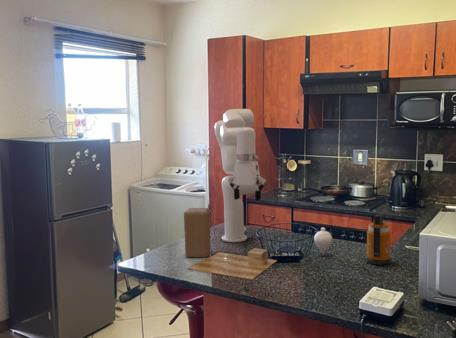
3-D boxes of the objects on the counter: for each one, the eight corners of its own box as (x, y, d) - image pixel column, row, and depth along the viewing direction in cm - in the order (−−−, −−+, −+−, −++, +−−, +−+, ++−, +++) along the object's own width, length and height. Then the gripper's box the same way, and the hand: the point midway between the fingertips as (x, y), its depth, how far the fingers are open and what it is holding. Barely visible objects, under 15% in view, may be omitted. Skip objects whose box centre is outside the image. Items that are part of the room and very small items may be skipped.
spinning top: (312, 257, 190) (312, 229, 189) (316, 251, 197) (316, 225, 196) (330, 258, 188) (330, 230, 186) (333, 253, 195) (333, 226, 193)
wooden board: (219, 252, 200) (219, 252, 200) (277, 260, 186) (277, 260, 186) (188, 269, 179) (188, 268, 178) (251, 279, 165) (251, 279, 165)
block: (211, 251, 202) (210, 207, 200) (207, 258, 192) (206, 212, 190) (189, 250, 203) (188, 207, 201) (184, 257, 193) (183, 212, 191)
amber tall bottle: (390, 260, 184) (391, 212, 182) (387, 268, 174) (388, 218, 172) (368, 257, 188) (369, 211, 185) (364, 266, 178) (364, 216, 175)
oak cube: (254, 259, 188) (254, 248, 187) (267, 261, 185) (267, 249, 185) (248, 263, 183) (248, 252, 182) (261, 265, 180) (261, 253, 179)
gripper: (269, 157, 182) (270, 199, 183) (232, 157, 190) (233, 197, 192) (261, 159, 175) (262, 202, 177) (223, 158, 184) (224, 200, 185)
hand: (247, 199), depth 184 cm, fingers open, 9 cm apart
